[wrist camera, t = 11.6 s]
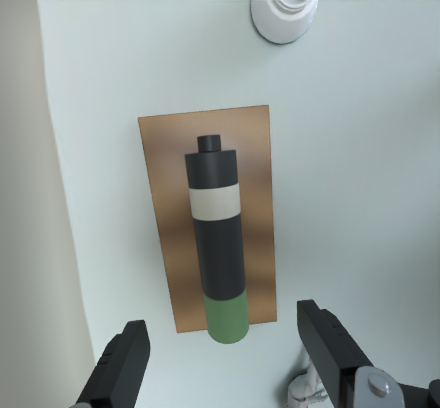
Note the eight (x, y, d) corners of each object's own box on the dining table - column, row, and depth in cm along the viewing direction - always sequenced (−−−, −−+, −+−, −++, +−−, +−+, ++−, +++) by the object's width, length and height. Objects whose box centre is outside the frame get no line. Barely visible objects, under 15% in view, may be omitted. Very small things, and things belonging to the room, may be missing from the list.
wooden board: (274, 316, 24) (277, 321, 23) (177, 327, 24) (176, 333, 23) (266, 106, 18) (269, 104, 18) (140, 118, 18) (137, 117, 17)
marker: (183, 139, 18) (179, 136, 14) (230, 135, 18) (240, 130, 14) (207, 318, 22) (209, 353, 19) (244, 312, 23) (254, 345, 19)
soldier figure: (339, 345, 27) (327, 448, 26) (300, 328, 30) (288, 419, 29) (326, 373, 21) (310, 509, 20) (279, 348, 24) (262, 465, 23)
